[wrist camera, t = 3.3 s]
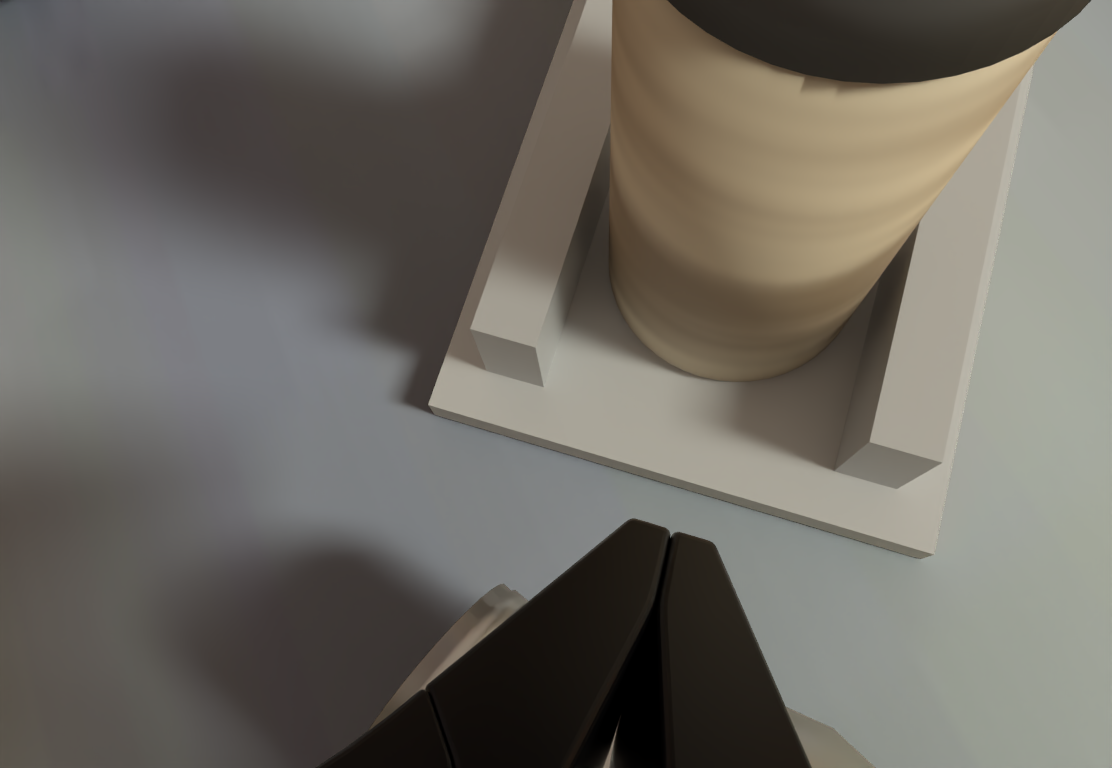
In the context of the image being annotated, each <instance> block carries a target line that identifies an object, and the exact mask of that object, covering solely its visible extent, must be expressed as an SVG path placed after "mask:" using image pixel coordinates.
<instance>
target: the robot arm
mask: <svg viewBox="0 0 1112 768" xmlns="http://www.w3.org/2000/svg"><path fill="white" fill-rule="evenodd" d="M617 726H618V727H617ZM616 729H617V731H616ZM615 732H616V735H615ZM614 736H615V740H614V744H613V748H612V754H611V760H610V766H609V768H812V766H811V764H810V762H809V760H808V757H807V755H806V753H805V750H804V748H803V746H802V743H801V741H800V739H799V736H798V734H797V732H796V730H795V727H794V725H793V723H792V720H791V718H790V716H789V713H788V711H787V709H786V707H785V704H784V702H783V700H782V697H781V695H780V693H779V690H778V688H777V686H776V684H775V681H774V679H773V677H772V674H771V672H770V670H769V667H768V665H767V663H766V661H765V658H764V656H763V654H762V651H761V649H760V647H759V644H758V642H757V640H756V638H755V635H754V633H753V631H752V628H751V626H750V624H749V621H748V619H747V617H746V615H745V612H744V610H743V608H742V605H741V603H740V601H739V598H738V596H737V594H736V592H735V589H734V587H733V585H732V582H731V580H730V578H729V575H728V573H727V571H726V569H725V566H724V564H723V562H722V559H721V557H720V555H719V552H718V550H717V548H716V546H715V545H714V544H713V543H712V542H710V541H708V540H705V539H701V538H698V537H695V536H691V535H688V534H685V533H681V532H676V533H674V534H672V536H671V538H670V532H669V530H668V529H667V528H665V527H661V526H658V525H655V524H652V523H648V522H645V521H642V520H638V519H630V520H628V521H626V522H625V523H624V524H623V525H621V526H620V527H619V528H618V529H616V530H615V531H614V532H613V533H612V534H610V535H609V536H608V537H607V538H605V539H604V540H603V541H602V542H601V543H599V544H598V545H597V546H596V547H594V548H593V549H592V550H591V551H590V552H588V553H587V554H586V555H585V556H583V557H582V558H581V559H580V560H579V561H577V562H576V563H575V564H574V565H572V566H571V567H570V568H569V569H568V570H566V571H565V572H564V573H563V574H561V575H560V576H559V577H558V578H557V579H555V580H554V581H553V582H552V583H550V584H549V585H548V586H547V587H546V588H544V589H543V590H542V591H541V592H539V593H538V594H537V595H536V596H535V597H533V598H532V599H531V600H530V601H528V602H527V603H526V604H525V605H524V606H522V607H521V608H520V609H519V610H517V611H516V612H515V613H514V614H513V615H511V616H510V617H509V618H508V619H506V620H505V621H504V622H503V623H502V624H500V625H499V626H498V627H497V628H495V629H494V630H493V631H492V632H491V633H489V634H488V635H487V636H486V637H485V638H483V639H482V640H481V641H480V642H478V643H477V644H476V645H475V646H474V647H472V648H471V649H470V650H469V651H467V652H466V653H465V654H464V655H463V656H461V657H460V658H459V659H458V660H456V661H455V662H454V663H453V664H452V665H450V666H449V667H448V668H447V669H445V670H444V671H443V672H442V673H441V674H439V675H438V676H437V677H436V678H434V679H433V680H432V681H431V682H430V683H428V684H427V685H426V688H425V690H424V689H421V690H419V691H418V692H417V693H415V694H414V695H413V696H412V697H411V698H409V699H408V700H407V701H406V702H405V703H403V704H402V705H401V706H400V707H398V708H397V709H396V710H395V711H394V712H392V713H391V714H390V715H388V716H387V717H386V718H385V719H383V720H382V721H381V722H379V723H378V724H377V725H375V726H374V727H373V728H371V729H370V730H369V731H367V732H366V733H365V734H363V735H362V736H361V737H360V738H358V739H357V740H356V741H354V742H353V743H352V744H350V745H349V746H348V747H346V748H345V749H343V750H342V751H340V752H339V753H337V754H336V755H334V756H333V757H331V758H330V759H328V760H327V761H325V762H324V763H322V764H321V765H319V766H318V767H316V768H603V767H604V765H605V762H606V759H607V757H608V754H609V751H610V748H611V745H612V742H613V739H614Z"/></svg>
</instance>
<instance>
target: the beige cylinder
mask: <svg viewBox="0 0 1112 768" xmlns="http://www.w3.org/2000/svg"><path fill="white" fill-rule="evenodd" d="M1090 1H1091V0H612V57H611V125H610V194H609V277H610V282H611V287H612V292H613V295H614V298H615V300H616V303H617V306H618V308H619V310H620V312H621V314H622V316H623V318H624V320H625V321H626V322H627V324H628V325H629V327H630V328H631V330H632V331H633V333H634V334H635V335H636V336H637V337H638V338H639V339H640V340H641V342H642V343H643V344H644V345H646V346H647V347H648V348H649V349H650V350H651V351H652V352H654V353H655V354H656V355H657V356H659V357H660V358H662V359H663V360H665V361H667V362H668V363H670V364H671V365H673V366H675V367H677V368H680V369H682V370H684V371H686V372H689V373H692V374H694V375H697V376H700V377H704V378H709V379H714V380H719V381H731V382H745V381H756V380H762V379H768V378H772V377H775V376H779V375H782V374H785V373H787V372H789V371H792V370H794V369H796V368H798V367H800V366H802V365H804V364H805V363H807V362H808V361H810V360H812V359H813V358H815V357H816V356H817V355H818V354H819V353H821V352H822V351H823V350H824V349H826V348H827V346H828V345H829V344H830V343H831V342H832V341H833V340H834V339H835V338H836V337H837V335H838V334H839V333H840V331H841V330H842V328H843V327H844V326H845V324H846V323H847V322H848V320H849V319H850V317H851V316H852V315H853V313H854V312H855V310H856V309H857V308H858V306H859V305H860V304H861V302H862V301H863V299H864V298H865V297H866V295H867V294H868V292H869V291H870V290H871V288H872V287H873V286H874V284H875V283H876V281H877V280H878V279H879V277H880V276H881V274H882V273H883V272H884V270H885V269H886V268H887V266H888V265H889V263H890V262H891V261H892V259H893V258H894V256H895V255H896V254H897V252H898V251H899V250H900V248H901V247H902V245H903V244H904V243H905V241H906V240H907V239H908V237H909V236H910V234H911V233H912V232H913V230H914V229H915V227H916V226H917V225H918V223H919V222H920V221H921V219H922V218H923V216H924V215H925V214H926V212H927V211H928V209H929V208H930V207H931V205H932V204H933V203H934V201H935V200H936V198H937V197H938V196H939V194H940V193H941V191H942V190H943V189H944V187H945V186H946V185H947V183H948V182H949V180H950V179H951V178H952V176H953V175H954V173H955V172H956V171H957V169H958V168H959V167H960V165H961V164H962V162H963V161H964V160H965V158H966V157H967V155H968V154H969V153H970V151H971V150H972V149H973V147H974V146H975V144H976V143H977V142H978V140H979V139H980V138H981V136H982V135H983V133H984V132H985V131H986V129H987V128H988V126H989V125H990V124H991V122H992V121H993V120H994V118H995V117H996V115H997V114H998V113H999V111H1000V110H1001V108H1002V107H1003V106H1004V104H1005V103H1006V102H1007V100H1008V99H1009V97H1010V96H1011V95H1012V93H1013V92H1014V90H1015V89H1016V88H1017V86H1018V85H1019V84H1020V82H1021V81H1022V79H1023V78H1024V77H1025V75H1026V74H1027V72H1028V71H1029V70H1030V68H1031V67H1032V66H1033V64H1034V63H1035V61H1036V60H1037V59H1038V57H1039V56H1040V54H1041V53H1042V52H1043V50H1044V49H1045V48H1046V46H1047V45H1048V43H1049V42H1050V41H1051V39H1052V38H1053V37H1054V35H1055V34H1056V32H1057V31H1058V30H1059V29H1060V28H1061V27H1063V26H1064V25H1065V24H1066V23H1068V22H1069V21H1070V20H1071V19H1073V18H1074V17H1075V16H1076V15H1078V14H1079V13H1080V12H1081V11H1082V10H1083V9H1084V7H1085V6H1086V5H1087V4H1088V3H1089V2H1090Z"/></svg>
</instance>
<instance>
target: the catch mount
mask: <svg viewBox="0 0 1112 768" xmlns="http://www.w3.org/2000/svg"><path fill="white" fill-rule="evenodd" d="M611 57H612V0H573V3H572V6H571V9H570V11H569V14H568V17H567V20H566V23H565V25H564V28H563V31H562V34H561V37H560V39H559V42H558V45H557V48H556V50H555V53H554V56H553V59H552V62H551V64H550V67H549V70H548V73H547V75H546V78H545V81H544V84H543V87H542V89H541V92H540V95H539V98H538V100H537V103H536V106H535V109H534V112H533V114H532V117H531V120H530V123H529V125H528V128H527V131H526V134H525V137H524V139H523V142H522V145H521V148H520V151H519V153H518V156H517V159H516V162H515V164H514V167H513V170H512V173H511V176H510V178H509V181H508V184H507V187H506V189H505V192H504V195H503V198H502V201H501V203H500V206H499V209H498V212H497V214H496V217H495V220H494V223H493V226H492V228H491V231H490V234H489V237H488V239H487V242H486V245H485V248H484V251H483V253H482V256H481V259H480V262H479V265H478V267H477V270H476V273H475V276H474V278H473V281H472V284H471V287H470V290H469V292H468V295H467V298H466V301H465V303H464V306H463V309H462V312H461V315H460V317H459V320H458V323H457V326H456V328H455V331H454V334H453V337H452V340H451V342H450V345H449V348H448V351H447V353H446V356H445V359H444V362H443V365H442V367H441V370H440V373H439V376H438V379H437V381H436V384H435V387H434V390H433V392H432V395H431V398H430V401H429V404H428V406H429V407H430V408H431V410H432V411H433V413H434V414H435V415H437V416H440V417H444V418H447V419H450V420H454V421H457V422H461V423H464V424H467V425H471V426H474V427H477V428H481V429H484V430H488V431H491V432H494V433H498V434H501V435H504V436H508V437H511V438H514V439H518V440H521V441H525V442H528V443H531V444H535V445H538V446H541V447H545V448H548V449H552V450H555V451H558V452H562V453H565V454H568V455H572V456H575V457H578V458H582V459H585V460H589V461H592V462H595V463H599V464H602V465H605V466H609V467H612V468H615V469H619V470H622V471H626V472H629V473H632V474H636V475H639V476H642V477H646V478H649V479H653V480H656V481H659V482H663V483H666V484H669V485H673V486H676V487H679V488H683V489H686V490H690V491H693V492H696V493H700V494H703V495H706V496H710V497H713V498H717V499H720V500H723V501H727V502H730V503H733V504H737V505H740V506H743V507H747V508H750V509H754V510H757V511H760V512H764V513H767V514H770V515H774V516H777V517H780V518H784V519H787V520H791V521H794V522H797V523H801V524H804V525H807V526H811V527H814V528H818V529H821V530H824V531H828V532H831V533H834V534H838V535H841V536H844V537H848V538H851V539H855V540H858V541H861V542H865V543H868V544H871V545H875V546H878V547H882V548H885V549H888V550H892V551H895V552H898V553H902V554H905V555H908V556H912V557H915V558H919V559H922V558H925V557H928V556H932V555H934V554H935V549H936V544H937V539H938V534H939V529H940V524H941V519H942V515H943V510H944V505H945V500H946V495H947V490H948V485H949V480H950V475H951V470H952V465H953V461H954V456H955V451H956V446H957V441H958V436H959V431H960V426H961V421H962V416H963V411H964V407H965V402H966V397H967V392H968V387H969V382H970V377H971V372H972V367H973V362H974V357H975V353H976V348H977V343H978V338H979V333H980V328H981V323H982V318H983V313H984V308H985V303H986V299H987V294H988V289H989V284H990V279H991V274H992V269H993V264H994V259H995V254H996V249H997V244H998V240H999V235H1000V230H1001V225H1002V220H1003V215H1004V210H1005V205H1006V200H1007V195H1008V190H1009V186H1010V181H1011V176H1012V171H1013V166H1014V161H1015V156H1016V151H1017V146H1018V141H1019V136H1020V132H1021V127H1022V122H1023V117H1024V112H1025V107H1026V102H1027V97H1028V92H1029V87H1030V82H1031V78H1032V73H1033V68H1034V64H1033V66H1032V67H1031V68H1030V70H1029V71H1028V72H1027V74H1026V75H1025V77H1024V78H1023V79H1022V81H1021V82H1020V84H1019V85H1018V86H1017V88H1016V89H1015V90H1014V92H1013V93H1012V95H1011V96H1010V97H1009V99H1008V100H1007V102H1006V103H1005V104H1004V106H1003V107H1002V108H1001V110H1000V111H999V113H998V114H997V115H996V117H995V118H994V120H993V121H992V122H991V124H990V125H989V126H988V128H987V129H986V131H985V132H984V133H983V135H982V136H981V138H980V139H979V140H978V142H977V143H976V144H975V146H974V147H973V149H972V150H971V151H970V153H969V154H968V155H967V157H966V158H965V160H964V161H963V162H962V164H961V165H960V167H959V168H958V169H957V171H956V172H955V173H954V175H953V176H952V178H951V179H950V180H949V182H948V183H947V185H946V186H945V187H944V189H943V190H942V191H941V193H940V194H939V196H938V197H937V198H936V200H935V201H934V203H933V204H932V205H931V207H930V208H929V209H928V211H927V212H926V214H925V215H924V216H923V218H922V219H921V221H920V222H919V223H918V225H917V226H916V227H915V229H914V230H913V232H912V233H911V234H910V236H909V237H908V239H907V240H906V241H905V243H904V244H903V245H902V247H901V248H900V250H899V251H898V252H897V254H896V255H895V256H894V258H893V259H892V261H891V262H890V263H889V265H888V266H887V268H886V269H885V270H884V272H883V273H882V274H881V276H880V277H879V279H878V280H877V281H876V283H875V284H874V286H873V287H872V288H871V290H870V291H869V292H868V294H867V295H866V297H865V298H864V299H863V301H862V302H861V304H860V305H859V306H858V308H857V309H856V310H855V312H854V313H853V315H852V316H851V317H850V319H849V320H848V322H847V323H846V324H845V326H844V327H843V328H842V330H841V331H840V333H839V334H838V335H837V337H836V338H835V339H834V340H833V341H832V342H831V343H830V344H829V345H828V346H827V348H826V349H824V350H823V351H822V352H821V353H819V354H818V355H817V356H816V357H815V358H813V359H812V360H810V361H808V362H807V363H805V364H804V365H802V366H800V367H798V368H796V369H794V370H792V371H789V372H787V373H785V374H782V375H779V376H775V377H772V378H768V379H762V380H756V381H745V382H731V381H719V380H714V379H709V378H704V377H700V376H697V375H694V374H692V373H689V372H686V371H684V370H682V369H680V368H677V367H675V366H673V365H671V364H670V363H668V362H667V361H665V360H663V359H662V358H660V357H659V356H657V355H656V354H655V353H654V352H652V351H651V350H650V349H649V348H648V347H647V346H646V345H644V344H643V343H642V342H641V340H640V339H639V338H638V337H637V336H636V335H635V334H634V333H633V331H632V330H631V328H630V327H629V325H628V324H627V322H626V321H625V320H624V318H623V316H622V314H621V312H620V310H619V308H618V306H617V303H616V300H615V298H614V295H613V292H612V287H611V282H610V277H609V194H610V125H611Z"/></svg>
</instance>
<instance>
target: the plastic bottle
mask: <svg viewBox="0 0 1112 768" xmlns="http://www.w3.org/2000/svg"><path fill="white" fill-rule="evenodd" d="M527 602H528V600H526V599H525V598H524V597H523V596H522V595H521V594H519V593H518V592H517V591H516V590H512V591H511V590H510V589H509V588H508V587H507V586H506V585H505V584H500V585H498V586H496V587H495V588H493V589H492V590H490V591H489V592H488V593H487V594H485V595H484V596H483V597H482V598H481V599H479V600H478V601H477V602H476V603H475V604H474V605H473V606H472V607H471V608H470V609H469V610H468V611H467V612H466V613H465V614H464V615H463V616H462V617H461V618H460V619H459V620H458V621H457V622H456V623H455V624H454V625H453V626H452V627H451V628H450V629H449V630H448V631H447V632H446V634H445V635H444V636H443V637H442V638H441V639H440V640H439V641H438V642H437V643H436V645H435V646H434V647H433V648H432V649H431V650H430V651H429V653H428V654H427V655H426V656H425V657H424V658H423V660H422V661H421V662H420V663H419V664H418V665H417V667H416V668H415V669H414V670H413V672H412V673H411V674H410V675H409V676H408V678H407V679H406V680H405V681H404V683H403V684H402V685H401V686H400V688H399V689H398V690H397V692H396V693H395V694H394V695H393V697H392V698H391V699H390V701H389V702H388V703H387V705H386V706H385V707H384V709H383V710H382V711H381V713H380V714H379V716H378V717H377V718H376V720H375V721H374V723H373V724H372V726H371V727H370V729H371V728H373V727H374V726H375V725H377V724H378V723H379V722H381V721H382V720H383V719H385V718H386V717H387V716H388V715H390V714H391V713H392V712H394V711H395V710H396V709H397V708H398V707H400V706H401V705H402V704H403V703H405V702H406V701H407V700H408V699H409V698H411V697H412V696H413V695H414V694H415V693H417V692H418V691H419V690H421V689H424V690H425V688H426V685H427V684H428V683H430V682H431V681H432V680H433V679H434V678H436V677H437V676H438V675H439V674H441V673H442V672H443V671H444V670H445V669H447V668H448V667H449V666H450V665H452V664H453V663H454V662H455V661H456V660H458V659H459V658H460V657H461V656H463V655H464V654H465V653H466V652H467V651H469V650H470V649H471V648H472V647H474V646H475V645H476V644H477V643H478V642H480V641H481V640H482V639H483V638H485V637H486V636H487V635H488V634H489V633H491V632H492V631H493V630H494V629H495V628H497V627H498V626H499V625H500V624H502V623H503V622H504V621H505V620H506V619H508V618H509V617H510V616H511V615H513V614H514V613H515V612H516V611H517V610H519V609H520V608H521V607H522V606H524V605H525V604H526V603H527ZM786 709H787V711H788V713H789V716H790V718H791V720H792V723H793V725H794V727H795V730H796V732H797V734H798V736H799V739H800V741H801V743H802V746H803V748H804V750H805V753H806V755H807V757H808V760H809V762H810V764H811V766H812V768H876V767H875V766H873V765H872V764H871V763H870V762H869V761H868V760H867V759H866V758H865V757H864V756H862V755H861V754H860V753H859V752H858V751H857V750H856V749H855V748H854V747H853V746H852V745H851V744H849V743H848V742H847V741H846V740H845V739H844V738H843V737H842V736H841V735H840V734H839V733H838V732H837V731H836V730H835V729H834V728H832V727H829V726H827V725H825V724H823V723H820V722H818V721H816V720H814V719H812V718H809V717H807V716H805V715H803V714H801V713H798V712H796V711H794V710H792V709H789V708H787V707H786ZM617 727H618V726H617ZM370 729H369V730H370ZM369 730H368V731H369ZM616 731H617V729H616ZM615 735H616V732H615ZM614 740H615V736H614V739H613V742H612V745H611V748H610V751H609V754H608V757H607V759H606V762H605V765H604V767H603V768H609V766H610V760H611V754H612V748H613V744H614Z"/></svg>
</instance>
